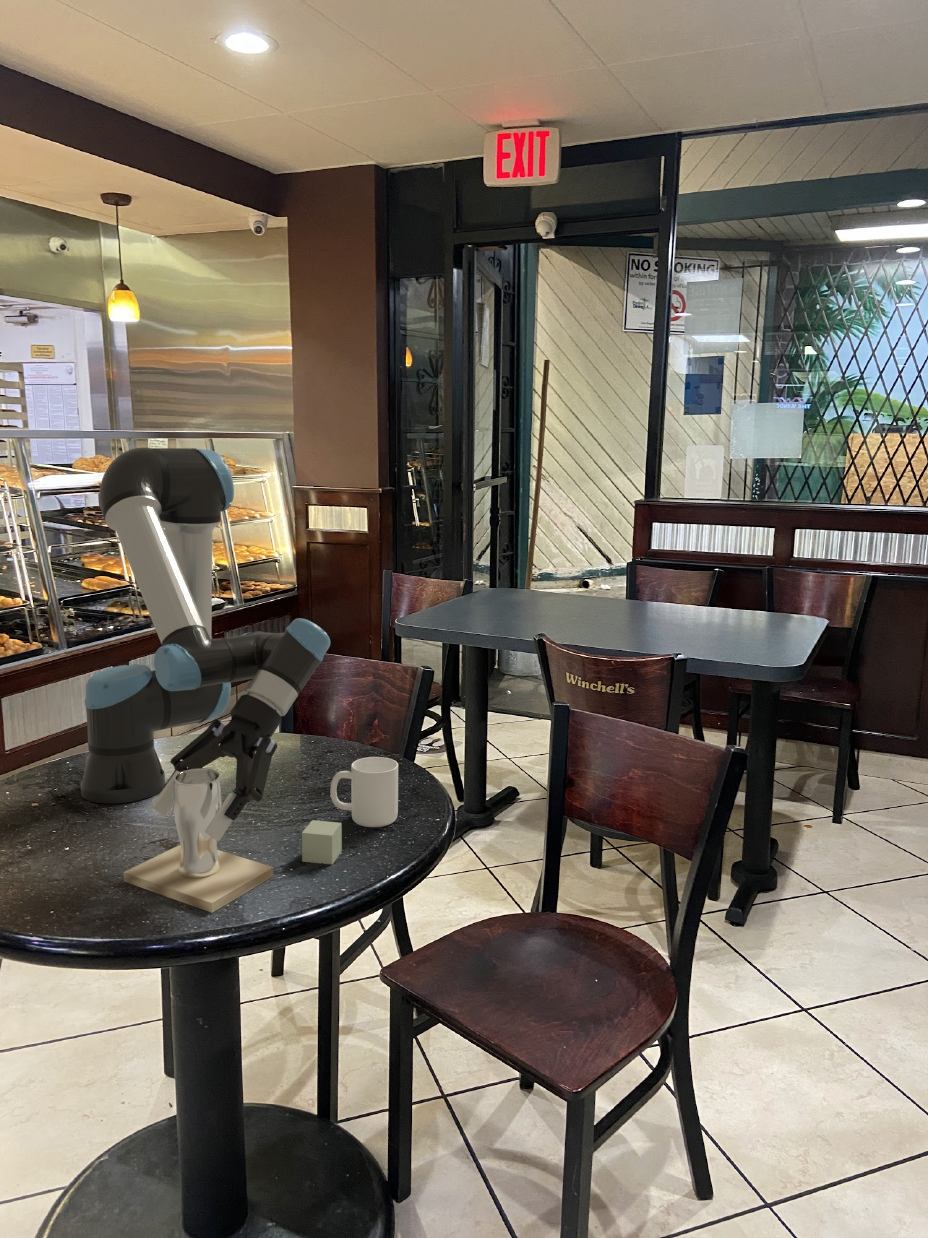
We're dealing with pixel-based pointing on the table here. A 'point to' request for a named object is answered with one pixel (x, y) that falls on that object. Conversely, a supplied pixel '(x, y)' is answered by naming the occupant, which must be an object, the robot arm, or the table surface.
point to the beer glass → (196, 820)
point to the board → (199, 879)
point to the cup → (370, 791)
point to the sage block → (321, 842)
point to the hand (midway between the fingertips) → (184, 824)
